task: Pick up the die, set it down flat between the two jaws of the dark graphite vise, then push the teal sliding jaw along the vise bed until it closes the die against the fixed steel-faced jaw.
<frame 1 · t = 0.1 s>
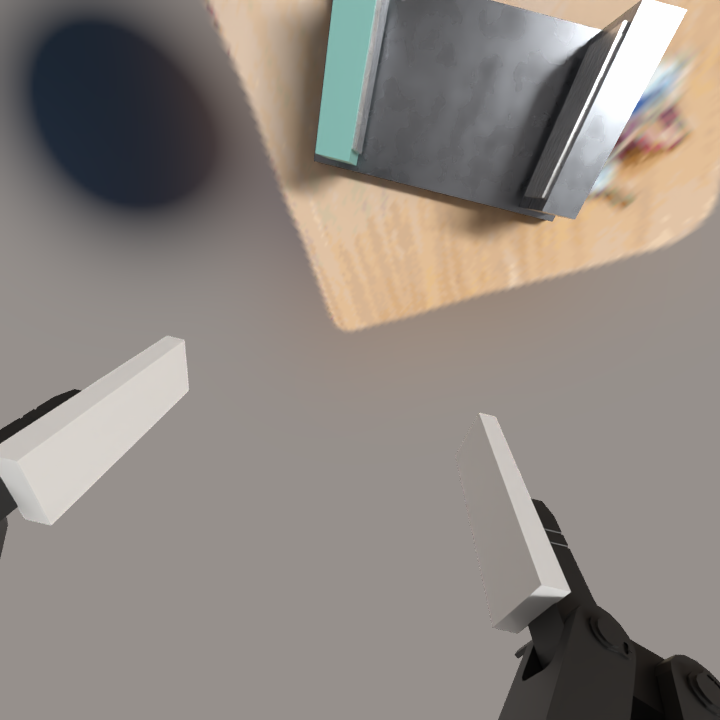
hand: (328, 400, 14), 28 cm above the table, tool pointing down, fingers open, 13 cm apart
vise base: (456, 111, 30), on the table
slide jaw: (353, 70, 25), point 5 cm above the table, slide at 0.0 cm
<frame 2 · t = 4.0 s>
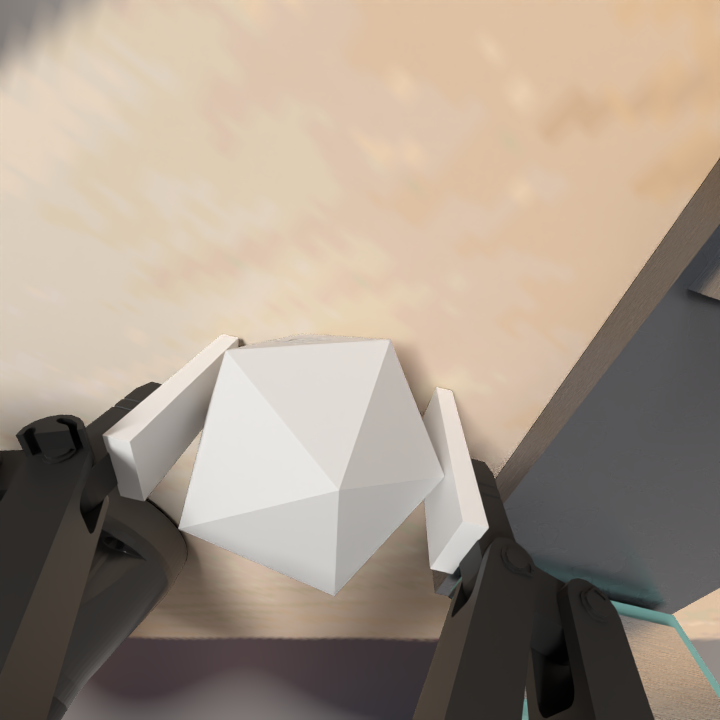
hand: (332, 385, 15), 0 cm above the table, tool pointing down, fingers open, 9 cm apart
vise base: (648, 477, 16), on the table
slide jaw: (584, 662, 17), point 5 cm above the table, slide at 0.0 cm
die: (334, 381, 15), on the table, touching gripper
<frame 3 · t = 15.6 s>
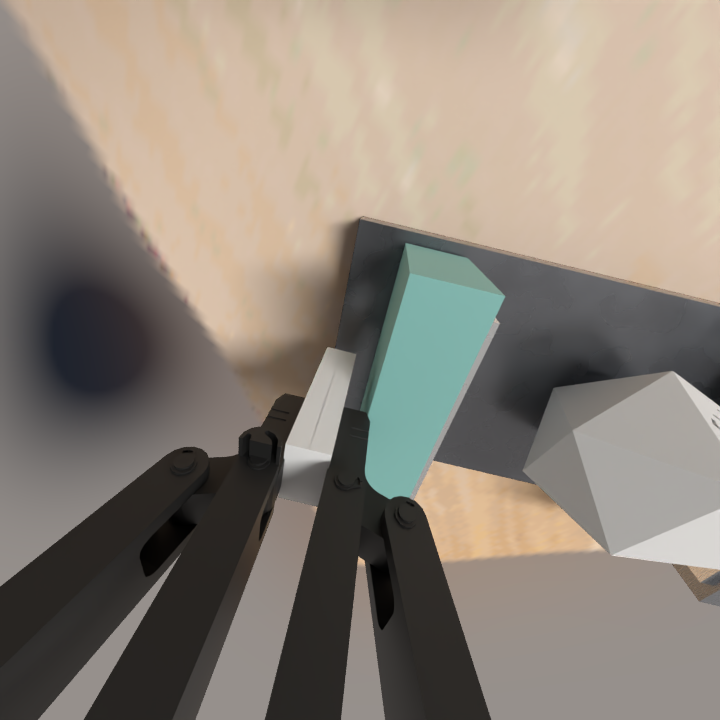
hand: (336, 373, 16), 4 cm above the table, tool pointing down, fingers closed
vise base: (539, 384, 19), on the table
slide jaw: (403, 396, 15), point 5 cm above the table, slide at 0.8 cm, touching gripper
die: (586, 410, 18), point 1 cm above the table, touching vise base
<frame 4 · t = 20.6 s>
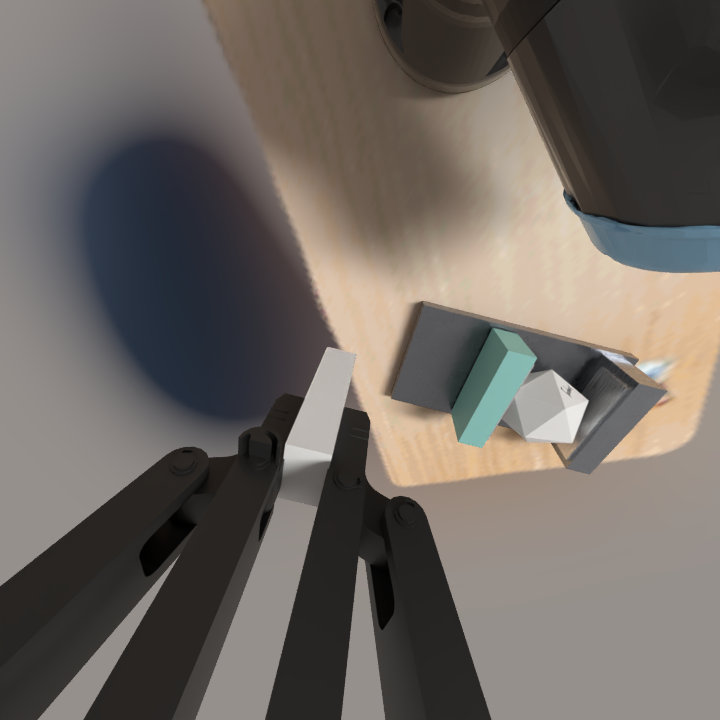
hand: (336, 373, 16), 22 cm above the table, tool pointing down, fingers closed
vise base: (501, 374, 40), on the table
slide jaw: (488, 389, 36), point 5 cm above the table, slide at 6.8 cm, touching die
die: (526, 387, 39), point 1 cm above the table, touching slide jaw, vise base
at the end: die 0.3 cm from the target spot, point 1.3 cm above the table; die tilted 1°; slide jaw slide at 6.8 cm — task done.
